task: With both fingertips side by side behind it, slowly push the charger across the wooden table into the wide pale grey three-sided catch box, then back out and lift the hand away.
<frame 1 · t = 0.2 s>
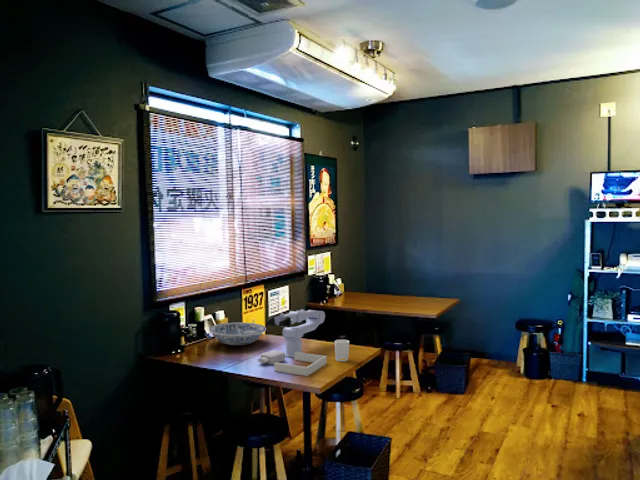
hand: (273, 323, 251), 22 cm above the table, tool horizontal, fingers open, 7 cm apart
catch box: (300, 367, 248), on the table
ceramic bowl: (237, 344, 294), on the table
charger: (268, 363, 256), on the table
white cup: (341, 360, 261), on the table
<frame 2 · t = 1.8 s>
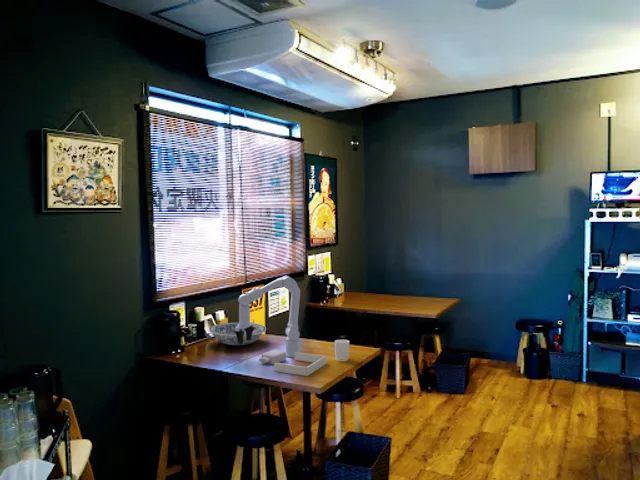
hand: (244, 341, 262), 9 cm above the table, tool pointing down, fingers open, 7 cm apart
nothing on the table moved.
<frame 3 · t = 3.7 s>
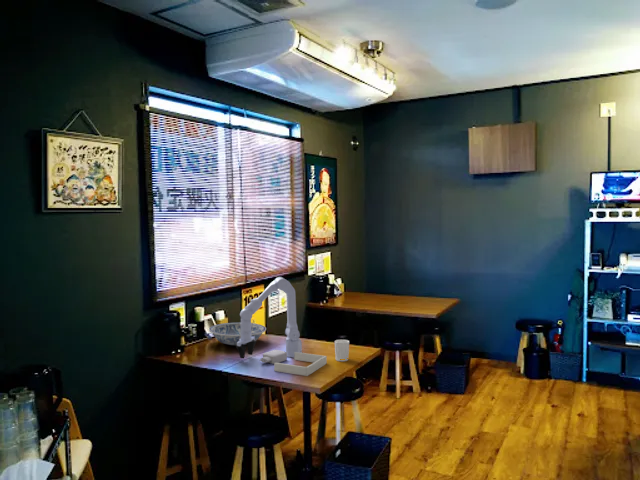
hand: (246, 356, 262), 2 cm above the table, tool pointing down, fingers open, 7 cm apart
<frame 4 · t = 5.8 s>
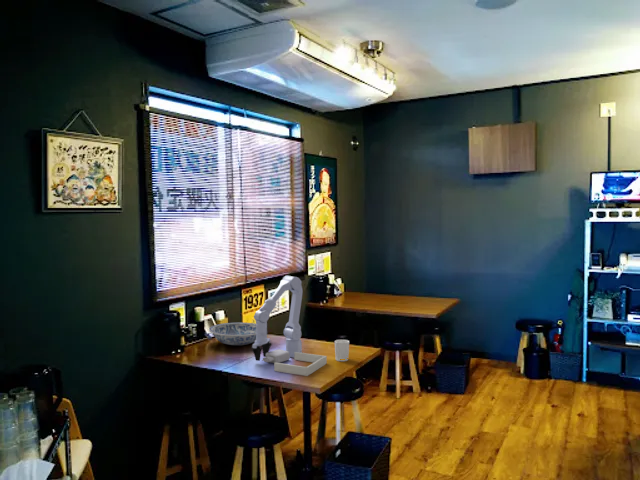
hand: (261, 358, 258), 2 cm above the table, tool pointing down, fingers open, 7 cm apart
charger: (273, 362, 257), on the table, touching gripper
everything else where it was.
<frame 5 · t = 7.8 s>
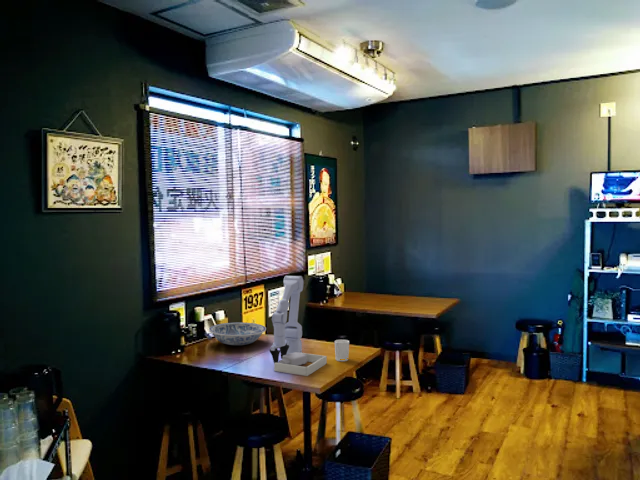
hand: (279, 361, 253), 2 cm above the table, tool pointing down, fingers open, 7 cm apart
charger: (290, 365, 251), on the table, touching gripper
everything else where it was.
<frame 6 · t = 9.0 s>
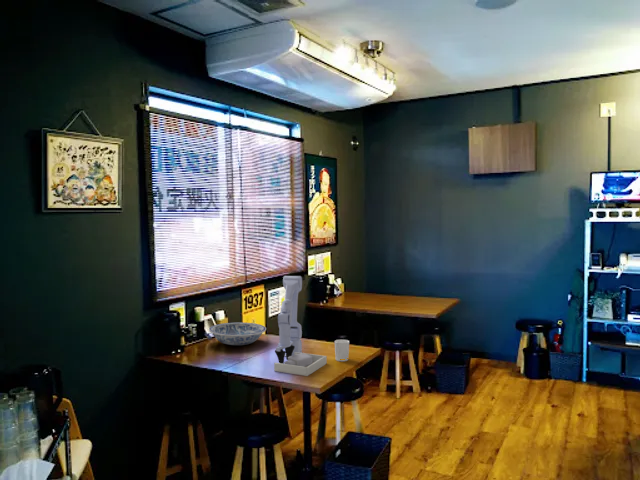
hand: (285, 361, 251), 2 cm above the table, tool pointing down, fingers open, 7 cm apart
charger: (295, 366, 250), on the table
everything else where it was.
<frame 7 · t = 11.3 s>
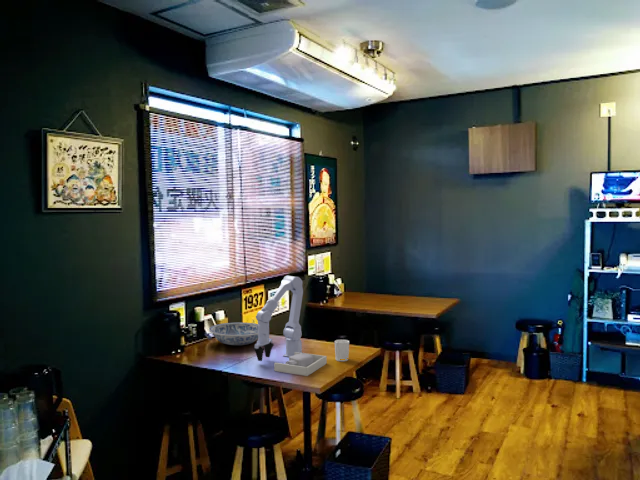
hand: (263, 358, 257), 2 cm above the table, tool pointing down, fingers open, 7 cm apart
nothing on the table moved.
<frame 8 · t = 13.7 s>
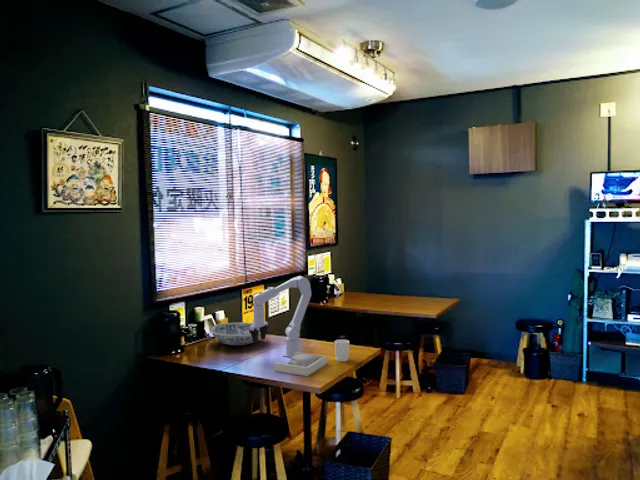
hand: (259, 340, 264), 9 cm above the table, tool pointing down, fingers open, 7 cm apart
at the end: charger inside the target area (2.3 cm from its centre), on the table; charger tilted 0°; the gripper is holding nothing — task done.
